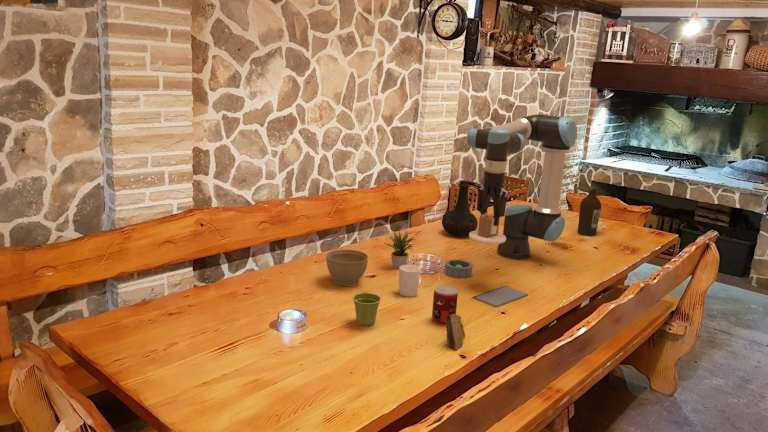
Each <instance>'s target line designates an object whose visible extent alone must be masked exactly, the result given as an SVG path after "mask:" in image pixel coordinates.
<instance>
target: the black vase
mask: <svg viewBox="0 0 768 432" xmlns="http://www.w3.org/2000/svg"><path fill="white" fill-rule="evenodd" d="M457 185H458V186H459V187H458V195H457V198H456V203H455V206H454V208H453V209H451V210H447V211H445V212H444V213H443V215H442V219H441V225H442V229H443V230H444V232H446V233H447V234H448V235H449V236H451V237H453V238H454V237H455V238H467V237H469V233H470V232H472V231H477V228H478V227H479V220H478V219H477V217H476V215H475V214H473V213H472V212H471V211H470V209H469V187H471V184H470V183H469V180H463V179H461V180H459V183H458V184H457Z"/></svg>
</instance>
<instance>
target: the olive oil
mask: <svg viewBox="0 0 768 432" xmlns="http://www.w3.org/2000/svg"><path fill="white" fill-rule="evenodd" d="M588 192H589V193H588V195H586V196H585V197H584V198H583V199H582V200H581V201H580V204H579V213H578V225H577V234H579V235H580V236H584V237H595V236H596V235H597V231H598V228H599V220H600V215H601V210H602V202H601V200H600V199H599V198H598V196H597V187H595V186H594V187H593V186H591V187H590V188H589V191H588Z"/></svg>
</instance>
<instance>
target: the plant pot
mask: <svg viewBox="0 0 768 432" xmlns="http://www.w3.org/2000/svg"><path fill="white" fill-rule="evenodd" d="M352 300H353V304H354V308H355V318H356V323H357V324H358V325H360V326H365V327H366V326H367V327H368V326H373V325H375V324H376V319H377V315H378V314H377V313H378V310H379V309H378V308H379V305H380V302H381V300H382V297H381V296H380V295H379V294H377V293H371V292H358V293H356V294H354V295H353V296H352Z"/></svg>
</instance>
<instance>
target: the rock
mask: <svg viewBox="0 0 768 432" xmlns="http://www.w3.org/2000/svg"><path fill="white" fill-rule="evenodd" d="M445 328H446V346H448V347H449V348H450V349H452V350H454V351H456V352H458V350H460V348H461V347H463V345H464V338H465V337H466V333H465V331H464V330H465V329H464V325H463V323H462V316H460V315H458V314H457V313H456V314H451V315H446V324H445Z"/></svg>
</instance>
